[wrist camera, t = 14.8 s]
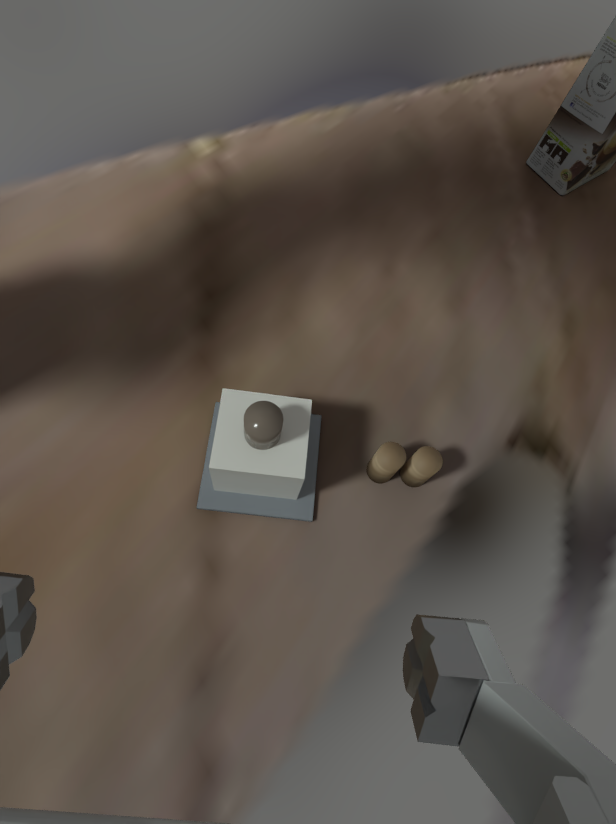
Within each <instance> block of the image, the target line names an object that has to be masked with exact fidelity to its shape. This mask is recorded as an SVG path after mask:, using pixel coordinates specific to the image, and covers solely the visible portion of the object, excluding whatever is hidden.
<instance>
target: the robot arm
mask: <svg viewBox="0 0 616 824" xmlns="http://www.w3.org/2000/svg"><path fill="white" fill-rule="evenodd" d="M34 591H35V589H34V580H33V578H32V577H30V576H29V575H21V574H13V573H5V572H0V690H1V689H2V687H3V685H4V684H5V682H6V681H7V679H8V678H9V676H10V672H9V664H11V663H12V662H14V661H15V660H17V659H19V658H20V657H22V656H23V654H24V652H25V651H26V649H27V647H28V646H29V644H30V641H31V638H32V636H33V633H34V630H35V625H36V608H35V606H34V605H33V604H32V603H31V602H30V601H29V599H30V597H31V596H32V594H33V593H34ZM411 631H412V635H413V639H412V640H411V641H410V642H408V643H407V644H406V648H405V652H404V657H403V677H404V683H405V688H406V691H407V693H408V694H409V695H410V696H411V697H412V698H413V699H414V701H413V704H412V708H411V715H412V719H413V723H414V728H415V732H416V736H417V740H418V742H424V743H433V744H442V745H450V746H459V750H460V751H461V753H462V754H463V755H464V756H465V758H466V759H467V760H468V762H469V763H470V764H471V766H472V767H473V768H474V770H475V771H476V772H477V773H478V775H479V776H480V777H481V779H482V780H483V781H484V783H485V784H486V785H487V787H488V788H489V789H490V791H491V792H492V793H493V794H494V796H495V797H496V798H497V800H498V801H499V802H500V804H501V805H502V806H503V808H504V809H505V810H506V812H507V813H508V814H509V815H510V817H511V818H512V819H513V821H514V822H515V823H516V824H616V764H615V763H614V762H612V760H610V759H609V758H608V757H607V756H606V755H604V754H603V753H602V752H601V751H600V750H599V749H597V748H596V747H595V746H594V745H593V744H592V743H591V742H589V741H588V740H587V739H586V738H585V737H583V736H582V735H581V734H580V733H579V732H578V731H577V730H576V729H574V728H573V727H572V726H571V725H570V724H569V723H567V722H566V721H565V720H564V719H563V718H562V717H560V716H559V715H558V714H557V713H556V712H555V711H553V710H552V709H551V708H550V707H549V706H548V705H547V704H545V703H544V702H543V701H542V700H541V699H540V698H538V697H537V696H536V695H535V694H534V693H533V692H531V691H530V690H529V689H528V688H527V687H526V686H524V685H523V684H516V682H515V680H514V678H513V676H512V673H511V671H510V670H509V667H508V665H507V663H506V661H505V659H504V657H503V655H502V652H501V650H500V648H499V647H498V644H497V642H496V640H495V638H494V636H493V634H492V632H491V629H490V627H489V625H488V623H486V622H485V621H484V620H476V619H464V618H462V619H459V618H448V617H437V616H426V615H416V617H415V618H414V620H413V623H412V626H411ZM0 824H229V823H215V822H201V821H187V820H173V819H159V818H145V817H131V816H117V815H103V814H89V813H75V812H61V811H47V810H33V809H19V808H5V807H0Z"/></svg>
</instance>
